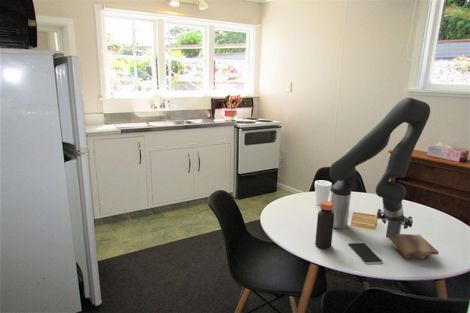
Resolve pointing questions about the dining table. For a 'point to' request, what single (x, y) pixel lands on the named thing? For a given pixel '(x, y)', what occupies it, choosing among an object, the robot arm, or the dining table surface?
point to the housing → (393, 228)
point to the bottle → (325, 225)
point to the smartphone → (365, 253)
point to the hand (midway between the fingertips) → (395, 224)
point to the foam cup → (322, 191)
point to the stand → (412, 245)
